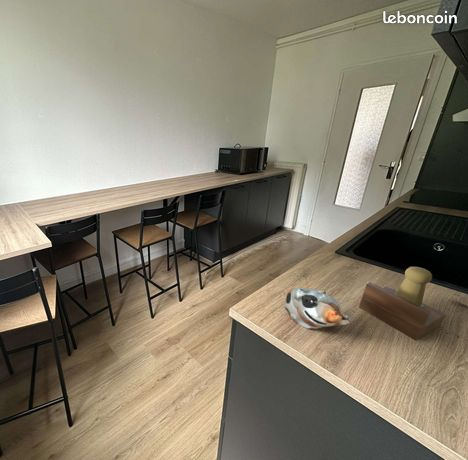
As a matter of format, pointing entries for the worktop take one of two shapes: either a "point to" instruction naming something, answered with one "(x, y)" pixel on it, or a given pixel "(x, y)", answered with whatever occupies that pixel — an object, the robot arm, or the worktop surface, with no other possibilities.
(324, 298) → the snowman head
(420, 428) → the worktop surface
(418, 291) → the cork
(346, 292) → the worktop surface
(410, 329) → the brown wooden box
